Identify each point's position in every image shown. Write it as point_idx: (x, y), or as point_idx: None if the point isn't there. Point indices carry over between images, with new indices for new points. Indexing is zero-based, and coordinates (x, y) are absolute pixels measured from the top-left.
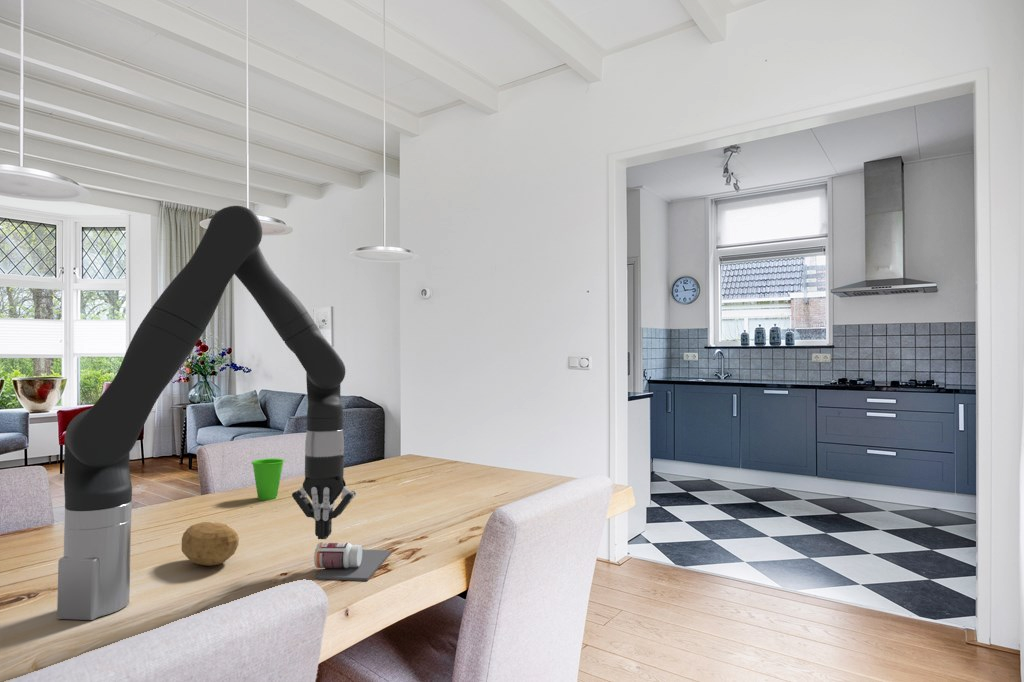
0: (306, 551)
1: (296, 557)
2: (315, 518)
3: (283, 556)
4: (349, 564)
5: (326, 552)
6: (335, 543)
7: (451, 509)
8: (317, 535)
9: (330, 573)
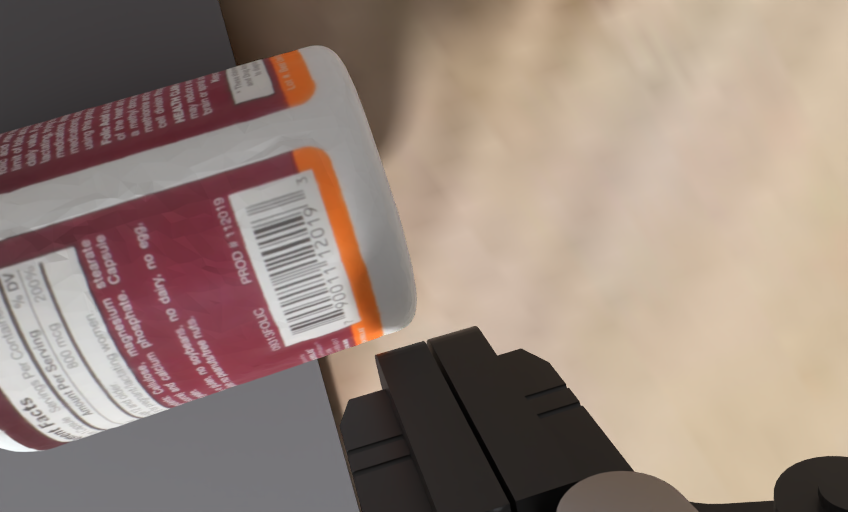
0: (684, 459)
1: (696, 329)
2: (652, 494)
3: (803, 308)
4: None
5: (179, 124)
6: (148, 315)
7: None
8: (505, 359)
9: (87, 29)
